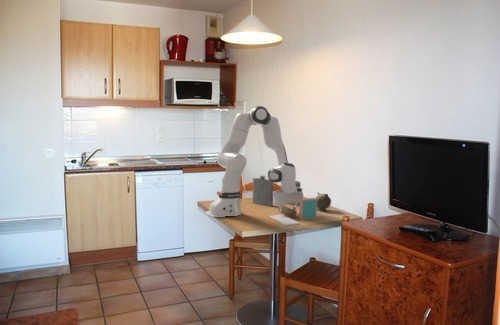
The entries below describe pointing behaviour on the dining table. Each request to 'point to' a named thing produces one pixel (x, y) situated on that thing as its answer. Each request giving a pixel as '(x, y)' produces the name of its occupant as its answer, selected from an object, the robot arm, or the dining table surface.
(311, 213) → the tile
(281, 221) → the tool mat
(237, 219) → the dining table surface
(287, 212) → the push stick
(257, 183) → the hip flask
